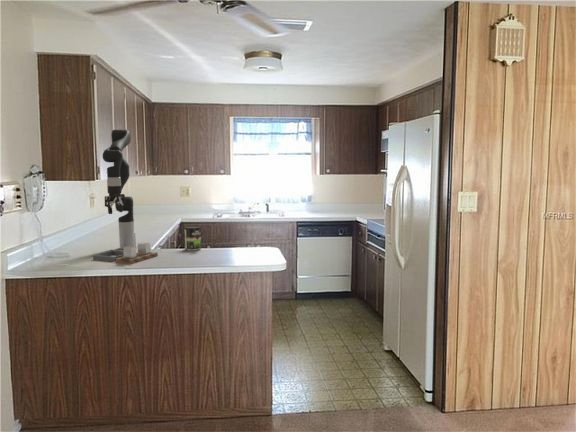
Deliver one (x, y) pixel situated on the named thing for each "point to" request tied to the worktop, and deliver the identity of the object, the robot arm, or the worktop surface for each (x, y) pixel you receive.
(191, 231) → the coffee can
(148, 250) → the block
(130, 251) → the block
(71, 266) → the worktop surface
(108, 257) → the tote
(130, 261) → the pallet
